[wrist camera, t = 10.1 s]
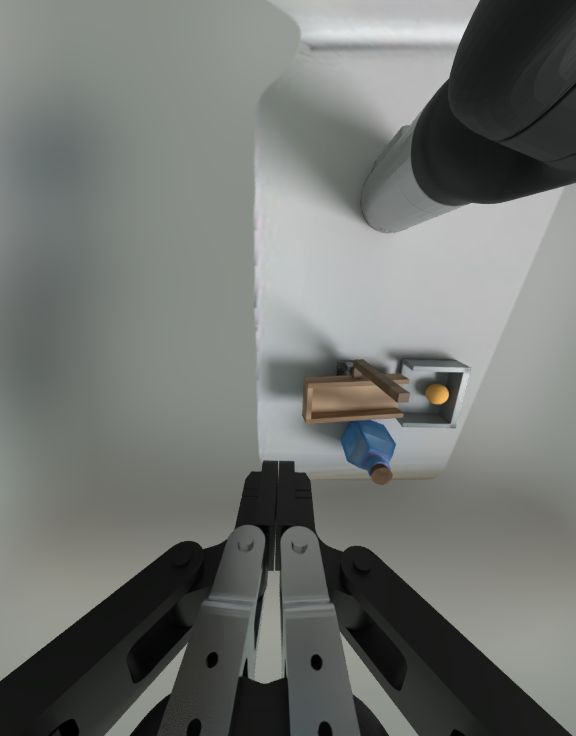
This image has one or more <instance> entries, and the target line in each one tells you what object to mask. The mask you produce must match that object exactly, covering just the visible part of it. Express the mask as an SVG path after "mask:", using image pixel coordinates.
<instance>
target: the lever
mask: <svg viewBox="0 0 576 736" xmlns="http://www.w3.org/2000/svg"><path fill="white" fill-rule="evenodd" d="M362 374H363V375H362ZM409 382H410V379H408V378H407V377H405V376H404V375H402V374H383V373H381V372H380V371H378V370H377V369H376V368H374V367H373V366H371V365H370V364H368V363H367V362H366V361H364V360H354V361H353V369H352V375H346V376H318V377H304V389H303V410H302V416H303V418H304V421H305V423H306V424H312V423H327V422H342V421H358V420H373V419H388V418H403V414H404V413H403V412H402V411H400V410H399V409H398V408H397V407H398V403H408V402H409V397H410V392H408V391H407V390H405V389H404V388H402V387H401V384H409Z"/></svg>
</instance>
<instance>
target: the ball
mask: <svg viewBox="0 0 576 736" xmlns="http://www.w3.org/2000/svg"><path fill="white" fill-rule="evenodd" d="M425 395H426V398H427V399H428V400H429V401H430V402H431V403H433V404H442V403H444V402H445V401H446V400H447V399H448V397H449V392H448V390H447V388H446V387H445V386H443V385H441V384H432V385H430V386H429V387H428V388H427V389H426V392H425Z"/></svg>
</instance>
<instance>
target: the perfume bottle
mask: <svg viewBox="0 0 576 736" xmlns="http://www.w3.org/2000/svg"><path fill="white" fill-rule="evenodd" d="M341 443H342V446H343V449H344V452H345V456H346V459H347V461H348V462H350V463H352V464H353V465H355V466H357V467H359V468H362V469H364V470H367V471H368V473H369V475H370V477H371V478H372V480H373V482H374V483H376V484H379V485H384V484H387V483H388V482H390V481H391V479H392V475H393V474H392V472H391V468H390V466H389V464H388V463H389V461H390V459H391V458H392V456H393V453H394V449H395V446H396V444H395V442H394V440H393V439H392V437H391V436H390V434H389V432H388V431H387V429H386V428H385V426H384V425H382V424H379V423H377V422H374V421H371V420H358V421H351V423H350V425H349V426H348V428H347V430H346V432H345V434H344V436H343V437H342V439H341Z"/></svg>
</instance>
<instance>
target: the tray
mask: <svg viewBox="0 0 576 736" xmlns="http://www.w3.org/2000/svg"><path fill="white" fill-rule="evenodd" d="M470 370H471V368H470V367H468V366H466V365H465V364H463V363H461V362H459V361H457V360H419V359H402V363H401V368H400V374H402V375H404V376H405V377H407V378H408V379H410V382H409V384H401V387H402V388H404V389H405V390H407V391H408V392H410V397H409V402H408V403H398V407H397V408H398V409H399V410H400V411H402V412H403V413H404V414H403V418H396V419H397V420H398V422H399V423H400V424H401V426H402V427H422V428H456V424H457V420H458V416H459V413H460V409H461V405H462V401H463V397H464V393H465V389H466V386H467V382H468V378H469V374H470ZM432 384H441V385H443V386H445V387H446V388H447V390H448V392H449V397H448V399H447V400H446V401H445V402H444V403H442V404H433V403H431V402H430V401H429V400H428V399H427V398H426V395H425V392H426V389H427V388H428V387H429V386H430V385H432Z"/></svg>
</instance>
